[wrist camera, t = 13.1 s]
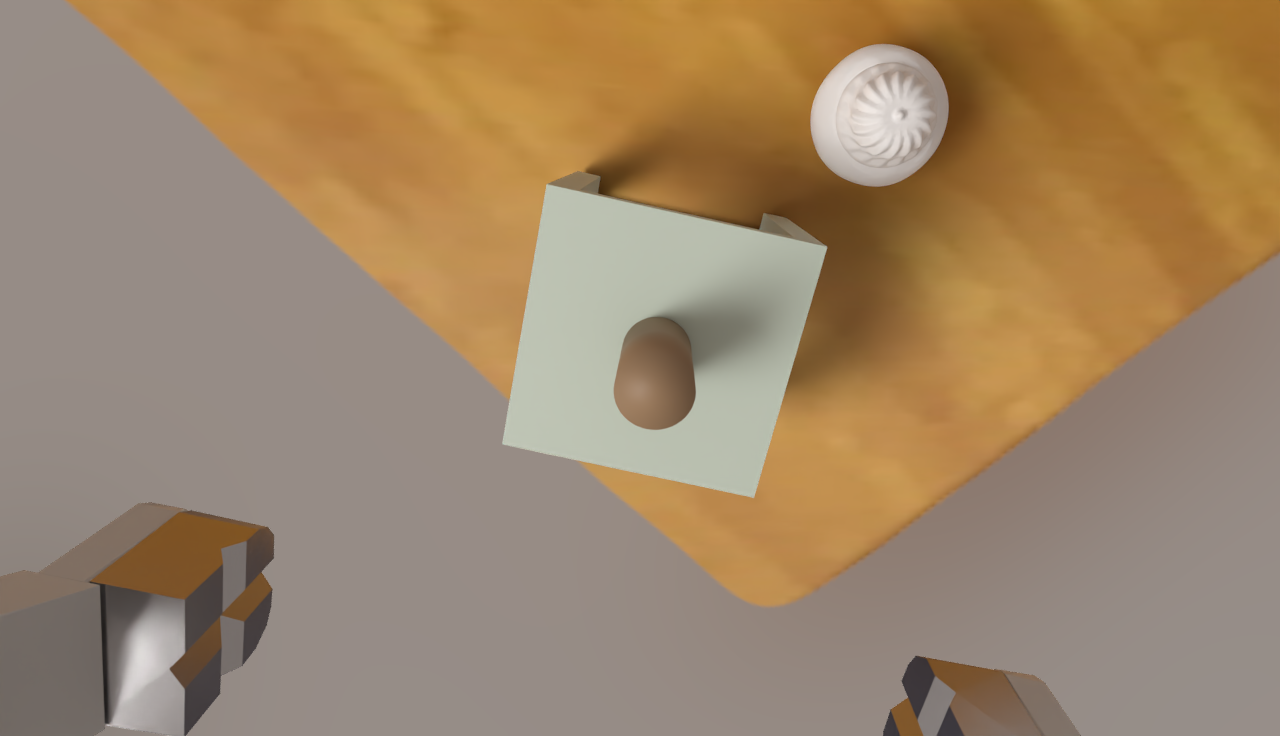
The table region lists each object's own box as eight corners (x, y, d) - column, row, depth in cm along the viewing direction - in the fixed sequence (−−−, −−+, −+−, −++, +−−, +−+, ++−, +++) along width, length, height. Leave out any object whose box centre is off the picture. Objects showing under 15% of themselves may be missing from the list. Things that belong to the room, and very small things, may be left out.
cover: (786, 217, 38) (859, 269, 24) (733, 411, 42) (769, 562, 27) (578, 171, 38) (522, 194, 23) (541, 370, 41) (472, 499, 27)
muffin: (787, 71, 36) (814, 57, 30) (912, 36, 36) (968, 14, 29) (810, 195, 38) (840, 208, 32) (930, 164, 38) (986, 171, 31)
